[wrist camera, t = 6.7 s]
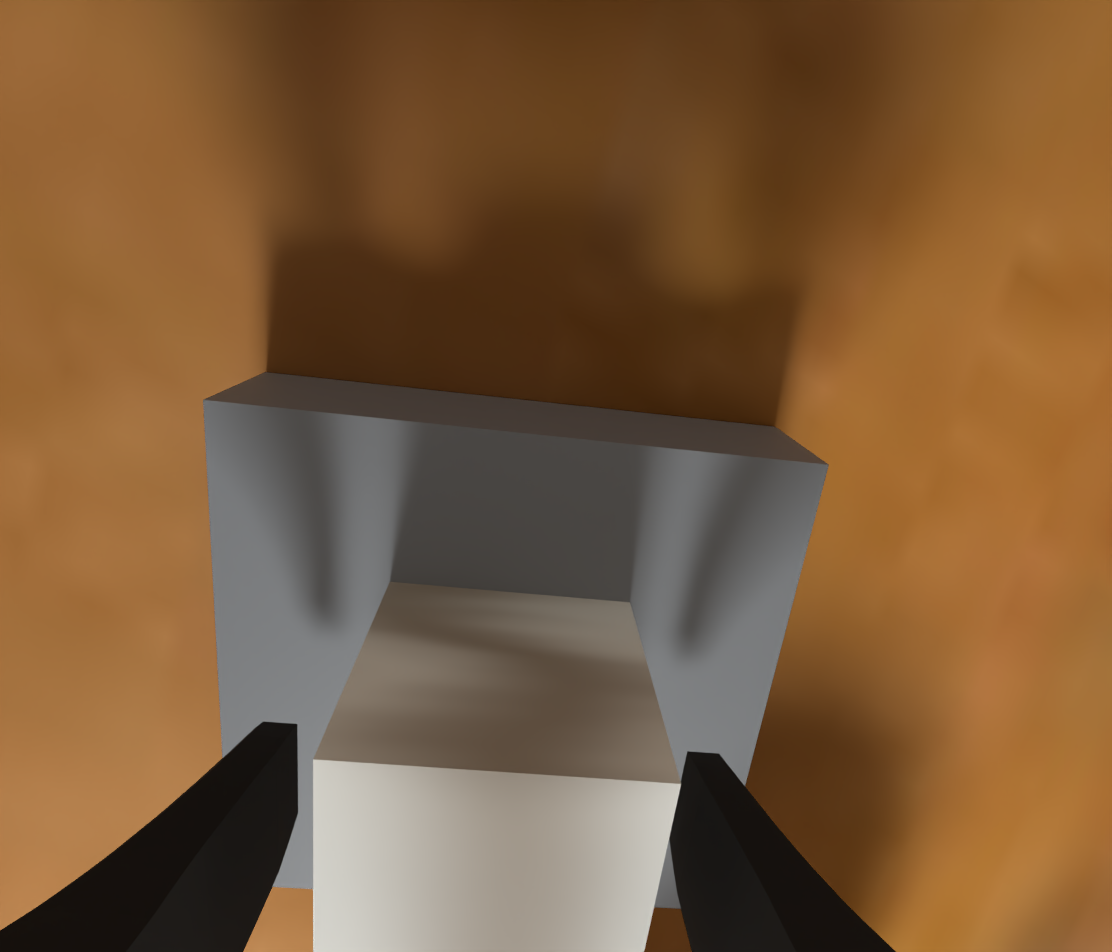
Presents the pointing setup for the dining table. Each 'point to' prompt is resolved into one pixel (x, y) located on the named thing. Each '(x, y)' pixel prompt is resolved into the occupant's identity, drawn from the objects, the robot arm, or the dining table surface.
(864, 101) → the dining table surface
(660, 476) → the base
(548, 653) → the cube
